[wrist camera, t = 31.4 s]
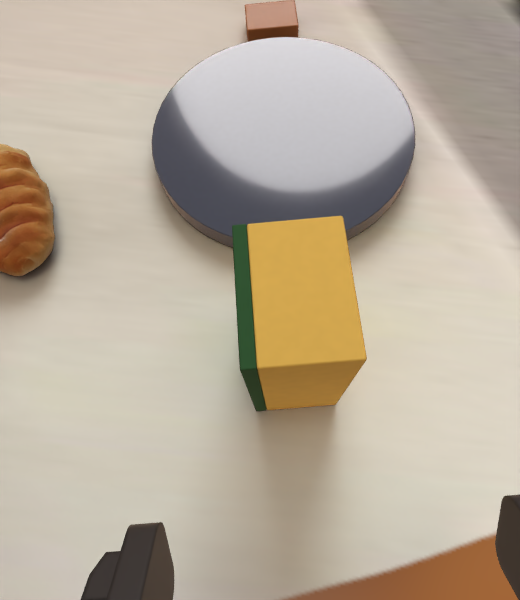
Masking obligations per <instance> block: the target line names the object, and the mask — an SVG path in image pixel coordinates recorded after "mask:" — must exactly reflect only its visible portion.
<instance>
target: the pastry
mask: <svg viewBox="0 0 520 600" xmlns="http://www.w3.org/2000/svg"><path fill="white" fill-rule="evenodd" d="M54 239H55V235H54V226H53V204H52V203H51V201H50V196H49V190H48V187H47V185H46V183H44V182H43V181H42V180H41V179H40V178H39V175H38V173H37V172H36V171H35V169H34V168H33V166H32V164H31V161H30V157H29V155H28V154H27V153H26V152H25V151H23V150H20V149H15V148H12V147H10V146H8V145H4V144H0V271H1V272H4V273H7V274H10V275H12V276H23V275H25V274H26V273H28V272H30V271H32V270H34V269H35V268H37V267H38V266H40V265H41V264H42V263H43V262H44V261H45V259H46V258H47V257H48V256H49V254H50V253H51V252H52V250H53V243H54Z"/></svg>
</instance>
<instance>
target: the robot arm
mask: <svg viewBox="0 0 520 600" xmlns="http://www.w3.org/2000/svg"><path fill="white" fill-rule="evenodd" d="M495 545H496V552H497V557H498V560H499V563H500V565H501V568H502V570H503V572H504V574H505V576H506V578H507V579H508V581H509V583H510V585H511V586H512V589H513V590H514V592H515V594H516V596H517V598H518V599H519V600H520V495H510V496H504V497H503V499H502V503H501V509H500V515H499V522H498V528H497V534H496V541H495ZM173 593H174V567H173V562H172V558H171V553H170V549H169V545H168V541H167V537H166V532H165V528H164V525H163V523H161V522H160V523H147V524H135V525H130V526H129V527H128V529H127V532H126V535H125V538H124V541H123V545H122V548H121V551H116V552H106V553H105V554H104V556H103V557H102V558H101V560H100V561H99V562H98V564H97V565H96V567H95V568H94V569H93V571H92V572H91V573H90V575H89V578H88V580H87V583H86V586H85V589H84V592H83V595H82V597H81V600H173Z"/></svg>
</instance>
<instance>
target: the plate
mask: <svg viewBox="0 0 520 600" xmlns="http://www.w3.org/2000/svg"><path fill="white" fill-rule="evenodd" d="M414 149H415V128H414V122H413V117H412V114H411V111H410V108H409V106H408V103H407V101H406V99H405V98H404V96H403V94H402V92H401V91H400V89H399V88H398V87H397V85H396V84H395V83H394V81H393V80H392V79H391V78H390V77H389V76H388V75H387V74H386V73H385V72H384V71H383V70H382V69H380V68H379V67H378V66H376V65H375V64H374V63H373V62H371V61H370V60H368V59H366V58H365V57H363V56H361V55H360V54H358V53H355V52H353V51H351V50H349V49H347V48H344V47H341V46H339V45H336V44H333V43H329V42H325V41H320V40H316V39H308V38H300V37H275V38H265V39H259V40H253V41H249V42H245V43H241V44H238V45H235V46H232V47H229V48H226V49H224V50H222V51H220V52H218V53H215V54H213V55H211V56H210V57H208V58H206V59H205V60H203V61H201V62H200V63H198V64H197V65H196V66H194V67H193V68H192V69H190V70H189V71H188V72H187V73H186V74H185V75H184V76H183V77H181V78H180V79H179V80H178V81H177V83H176V84H175V85H174V86H173V88H172V89H171V90H170V91H169V93H168V94H167V96H166V98H165V99H164V101H163V102H162V104H161V107H160V109H159V111H158V114H157V116H156V120H155V124H154V127H153V135H152V154H153V160H154V164H155V168H156V171H157V173H158V176H159V178H160V181H161V183H162V186H163V188H164V190H165V193H166V195H167V196H168V198H169V200H170V201H171V203H172V205H173V206H174V207H175V209H176V210H177V211H178V212H179V213H180V215H181V216H182V217H183V218H184V219H185V220H186V221H188V222H189V223H190V224H191V225H192V226H193V227H194V228H196V229H197V230H199V231H200V232H202V233H203V234H205V235H206V236H208V237H210V238H212V239H214V240H216V241H218V242H220V243H222V244H224V245H227V246H230V247H233V237H232V226H233V225H240V224H246V225H248V224H254V223H265V222H276V221H287V220H299V219H310V218H321V217H333V216H342V217H343V220H344V226H345V232H346V238H347V240H348V239H350V238H352V237H354V236H356V235H357V234H359V233H361V232H363V231H364V230H365V229H367V228H368V227H369V226H371V225H372V224H373V223H375V222H376V221H377V220H378V219H379V218H380V217H381V216H382V215H383V214H384V213H385V212H386V211H387V210H388V208H389V207H390V206H391V204H392V203H393V202H394V200H395V199H396V197H397V196H398V194H399V192H400V190H401V188H402V186H403V184H404V182H405V179H406V177H407V174H408V171H409V169H410V166H411V163H412V160H413V155H414Z"/></svg>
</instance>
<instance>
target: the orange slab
mask: <svg viewBox="0 0 520 600" xmlns="http://www.w3.org/2000/svg"><path fill="white" fill-rule="evenodd" d="M245 14H246V26H247V38H248V42H249V41H253V40H259V39H265V38H275V37H298V19H297V13H296V6H295V0H287V1H276V2H266V3H256V4H246V5H245Z"/></svg>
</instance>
